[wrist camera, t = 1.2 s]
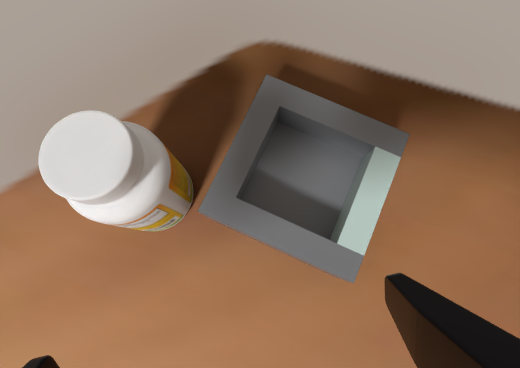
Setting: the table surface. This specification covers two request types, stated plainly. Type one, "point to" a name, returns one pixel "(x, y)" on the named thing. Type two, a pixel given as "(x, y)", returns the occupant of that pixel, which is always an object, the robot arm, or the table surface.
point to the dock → (306, 177)
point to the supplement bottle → (115, 172)
